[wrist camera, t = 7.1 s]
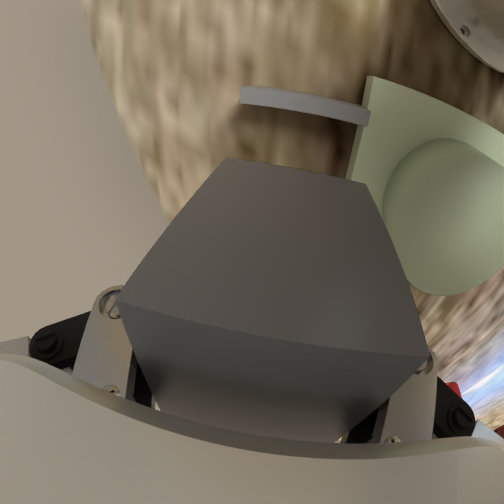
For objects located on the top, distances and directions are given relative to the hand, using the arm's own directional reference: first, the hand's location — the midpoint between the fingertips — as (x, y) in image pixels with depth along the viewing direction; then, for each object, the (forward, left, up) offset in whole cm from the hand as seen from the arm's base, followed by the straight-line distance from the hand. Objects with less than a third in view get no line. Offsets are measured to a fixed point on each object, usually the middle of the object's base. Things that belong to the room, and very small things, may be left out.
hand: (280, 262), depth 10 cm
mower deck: (-8, 0, -12) cm, 14 cm away
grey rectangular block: (0, 0, -2) cm, 2 cm away
